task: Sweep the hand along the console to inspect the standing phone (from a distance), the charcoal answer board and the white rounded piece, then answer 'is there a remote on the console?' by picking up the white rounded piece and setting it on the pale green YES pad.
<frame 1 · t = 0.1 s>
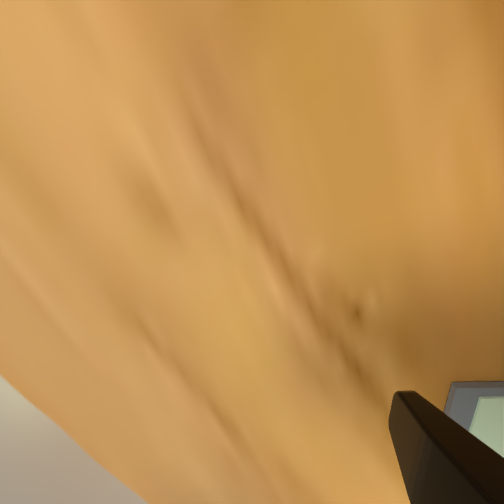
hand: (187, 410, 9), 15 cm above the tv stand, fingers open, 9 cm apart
answer board: (490, 455, 31), on the tv stand
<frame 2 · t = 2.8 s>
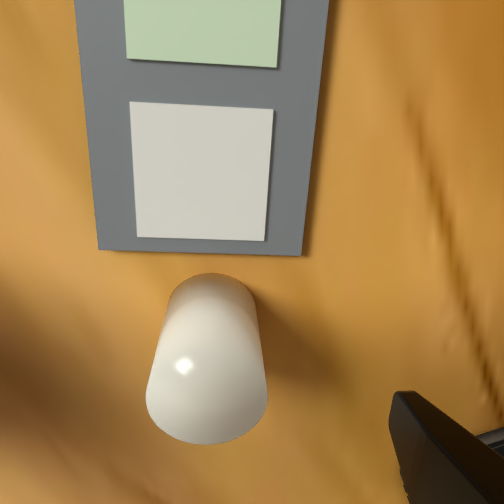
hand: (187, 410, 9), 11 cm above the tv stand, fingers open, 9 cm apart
white rounded piece: (211, 313, 21), on the tv stand
answer board: (203, 84, 16), on the tv stand
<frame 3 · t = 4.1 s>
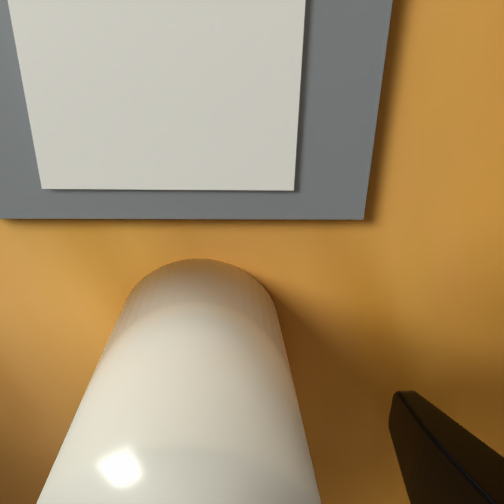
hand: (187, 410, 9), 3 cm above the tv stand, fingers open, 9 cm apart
white rounded piece: (200, 331, 12), on the tv stand
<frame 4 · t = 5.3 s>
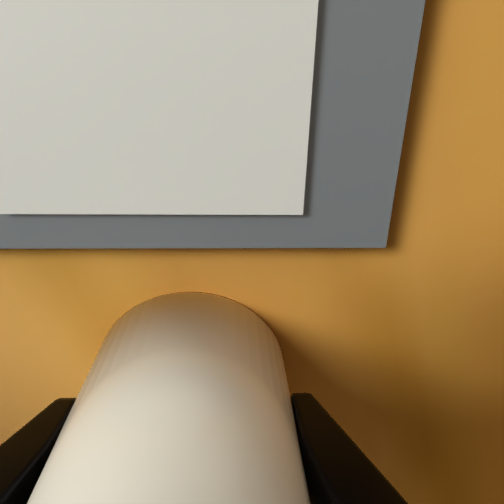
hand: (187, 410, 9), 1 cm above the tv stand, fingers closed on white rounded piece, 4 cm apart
white rounded piece: (192, 372, 10), on the tv stand, touching gripper
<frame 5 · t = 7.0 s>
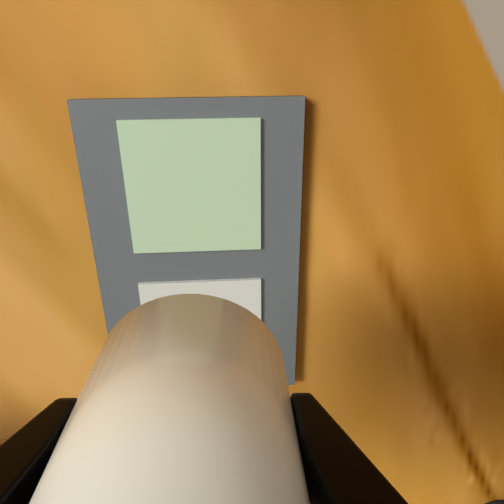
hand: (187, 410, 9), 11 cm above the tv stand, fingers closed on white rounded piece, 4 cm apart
white rounded piece: (192, 374, 10), point 9 cm above the tv stand, touching gripper
answer board: (199, 259, 19), on the tv stand
when the fingers open (3 cm above the tv stand, at t = 9.0 s): white rounded piece drops 1 cm, resting on answer board.
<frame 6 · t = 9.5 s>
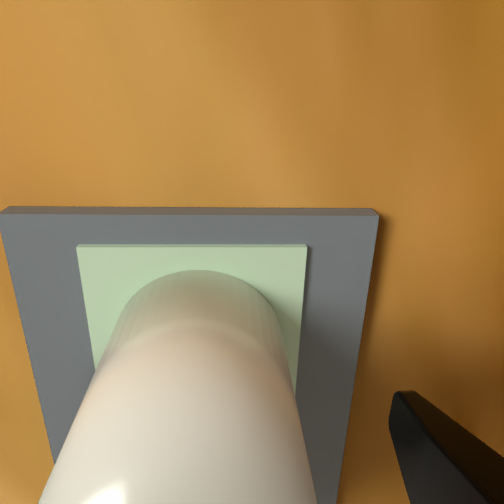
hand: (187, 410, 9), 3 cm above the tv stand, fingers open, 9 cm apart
white rounded piece: (199, 344, 11), point 1 cm above the tv stand, touching answer board
answer board: (201, 419, 13), on the tv stand
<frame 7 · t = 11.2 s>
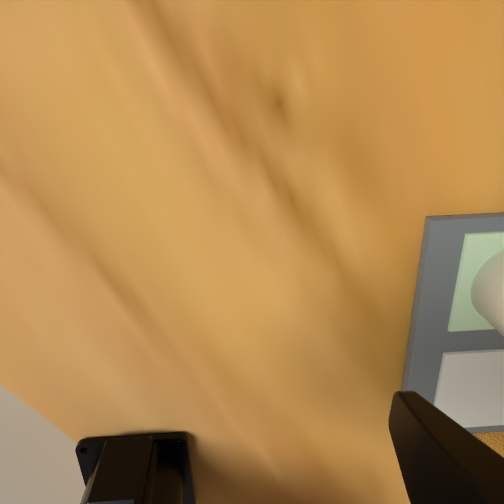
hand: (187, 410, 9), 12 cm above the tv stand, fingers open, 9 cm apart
answer board: (488, 331, 23), on the tv stand
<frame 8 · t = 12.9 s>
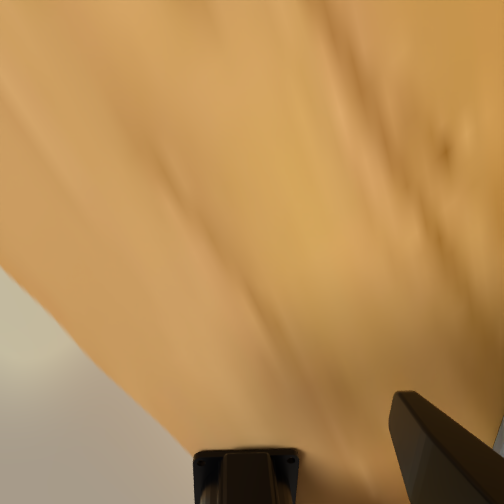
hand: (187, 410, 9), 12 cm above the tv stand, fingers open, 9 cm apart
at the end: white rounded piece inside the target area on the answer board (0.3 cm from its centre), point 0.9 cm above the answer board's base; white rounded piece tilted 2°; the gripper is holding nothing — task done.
